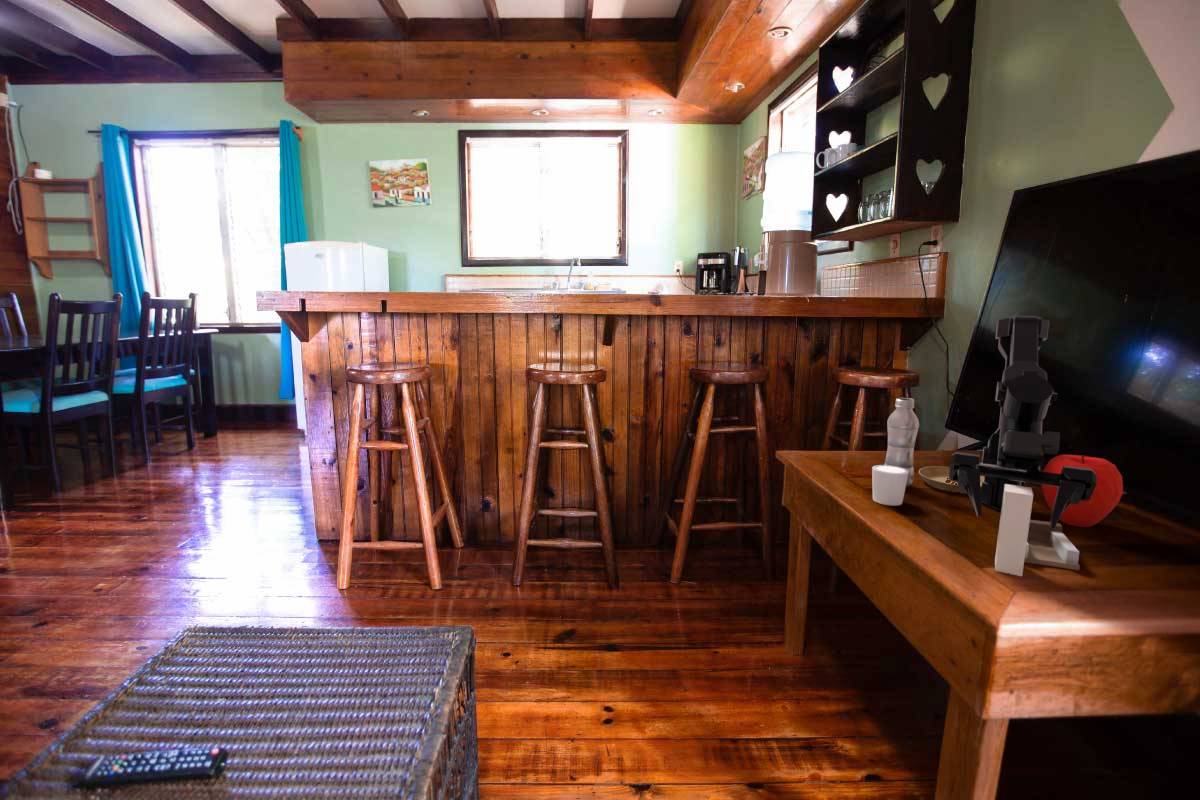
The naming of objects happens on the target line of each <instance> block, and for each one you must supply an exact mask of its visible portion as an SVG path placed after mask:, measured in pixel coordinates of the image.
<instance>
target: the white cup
mask: <svg viewBox="0 0 1200 800" xmlns="http://www.w3.org/2000/svg"><path fill="white" fill-rule="evenodd" d="M871 471H872V472H871V475H872V476H871V477H872V479H871V480H872V483H871V485H872V487H871V488H872V500H873V501H874V502H875V503H877V504H881V505H884V506H893V507H894V506H895V507H896V506H902V504H903V502H904V496H905V492H906V488H907V486H906V483H907V478H908V473H909V471H908V470H906V469H904V468H901V467H897V466H890V465H884V464H877V465H873V466H872V467H871Z"/></svg>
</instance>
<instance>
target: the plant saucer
mask: <svg viewBox="0 0 1200 800" xmlns="http://www.w3.org/2000/svg"><path fill="white" fill-rule="evenodd" d="M949 473H950V466H926V467H922V468H920V469H919V470H918V475H920V477H921V478H922V480H923V481H924V482H925V483H926V484H928V485H929V486H931V487H932V488H935V489H937V490H938V489H939V490H942V491H945V490H946V491H945V492H950V491H951V492H952V493H956V492H960V493H959V494H968V493H967V492H966V490H965V488H964V487H960V486H958V485H955V483H957V482H955V483H954V484H951V483H952V481H951V482H950V483H946V482H945V481H946V480H947V478H949ZM984 477H985V476H981V475H980V486H981V488H982V482H984ZM948 480H949V479H948Z"/></svg>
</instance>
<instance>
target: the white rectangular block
mask: <svg viewBox="0 0 1200 800" xmlns="http://www.w3.org/2000/svg"><path fill="white" fill-rule="evenodd" d="M1033 499H1034V492H1033V488H1032V487H1029V486H1024V487H1023V486H1016V485H1010V484H1005V486H1004V493H1003V501H1002V509H1001V510H1000V518H999V526H998V533H997V541H996V551H995V557H994V568H995V570H994V571H995V572H1000V573H1004V574H1008V573H1009V575H1014V576H1018V577H1023V573H1024V567H1025V566H1024V564H1025V562H1024V559H1025V552H1026V545H1027V537H1028V530H1029V523H1030V520H1031V514H1032V507H1033V501H1034V500H1033Z"/></svg>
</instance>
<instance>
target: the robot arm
mask: <svg viewBox="0 0 1200 800" xmlns="http://www.w3.org/2000/svg"><path fill="white" fill-rule="evenodd" d="M1049 326H1050V320H1048V319H1042V317H1040V316H1039V317H1038V315H1036V316H1033V315H1014V316H1004V318H1003V319H998V320H997V323H996V328H995V329H996V330H995V340H998V347H997V349H998V350H999V352H1000V354H1001V356H1002V357H1003V358H1004V359H1005V365H1004V369H1003V373H1002V377H1001V381H997V384H996V391H995V397H994V399H995V402H999V407H1000V411H999V412H1000V414H999V423H998V428H997V429H996V430H995V432H993V434H992V435H991V436H990V437H989V439H988V442H987V446H983V451H982V457H981V462H980V454H975V453H966V452H958V451H956V452H953V453H952V454H951V455H950V464H949V467H950V473H949V480H951V481H952V482H957V485H958V486H960V487H964V488H965V490H966V492H967V493H966V494H967V495H968V496H969V499H970V501H971V504H972V506H973V509H974V511H975V515H976V517H977V518H982V517H981V516H982V506H983V505H986V506H988V507H991V508H992V509H994V510H996V511H1001V509H1002V501H1003V493H1004V486H1005V484H1010V485H1016V486H1023V487H1025V483H1029V484H1037V485H1041V484H1043V485H1050V486H1057V494H1056V497H1055V500H1054V505H1053V510H1051V516H1050V521H1049V522H1050V530H1054V528H1055V526H1056V524H1057V523H1058V522H1059V521H1060V520H1059V518H1060V516H1061V515H1062V513H1063V512H1064V510H1065V509H1066V508H1067V507H1068V506H1069V504H1078V503H1079V502H1080V501H1088V500H1090V498H1091V496H1092V494H1093V491H1094V489H1095V487H1096V485H1097V474H1096V473H1095V472H1094V471H1093V470H1092V469H1088V468H1080V467H1072V466H1064V465H1063V468H1062V471H1061V474H1056V473H1049V472H1043V471H1041V467H1043V466H1044V461H1045V459H1044V458H1045V454H1048V455H1055V456H1057V454H1058V452H1059V450H1060V441H1061V440H1060V438H1061V437H1060V432H1057V431H1047V430H1046V431H1044V432H1043V422H1044V421H1043V420H1044V419H1045V417H1046V415H1047V412H1048V408H1049V406H1051V405H1053V402H1057V401H1058V395H1059V394H1058V393H1057V392H1056V391H1055V389H1054V387H1053V386H1052V384H1051V383H1050V382H1049V380H1048V373H1047V372H1046V371H1045V370H1044V369H1043V368H1041V367H1040V366H1039V350H1040V348H1041V347H1042V344H1043V341H1046V340H1047V339H1048V335H1049V328H1050V327H1049ZM980 475H981V476H985V477H984V482H982V488H981V486H980Z"/></svg>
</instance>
